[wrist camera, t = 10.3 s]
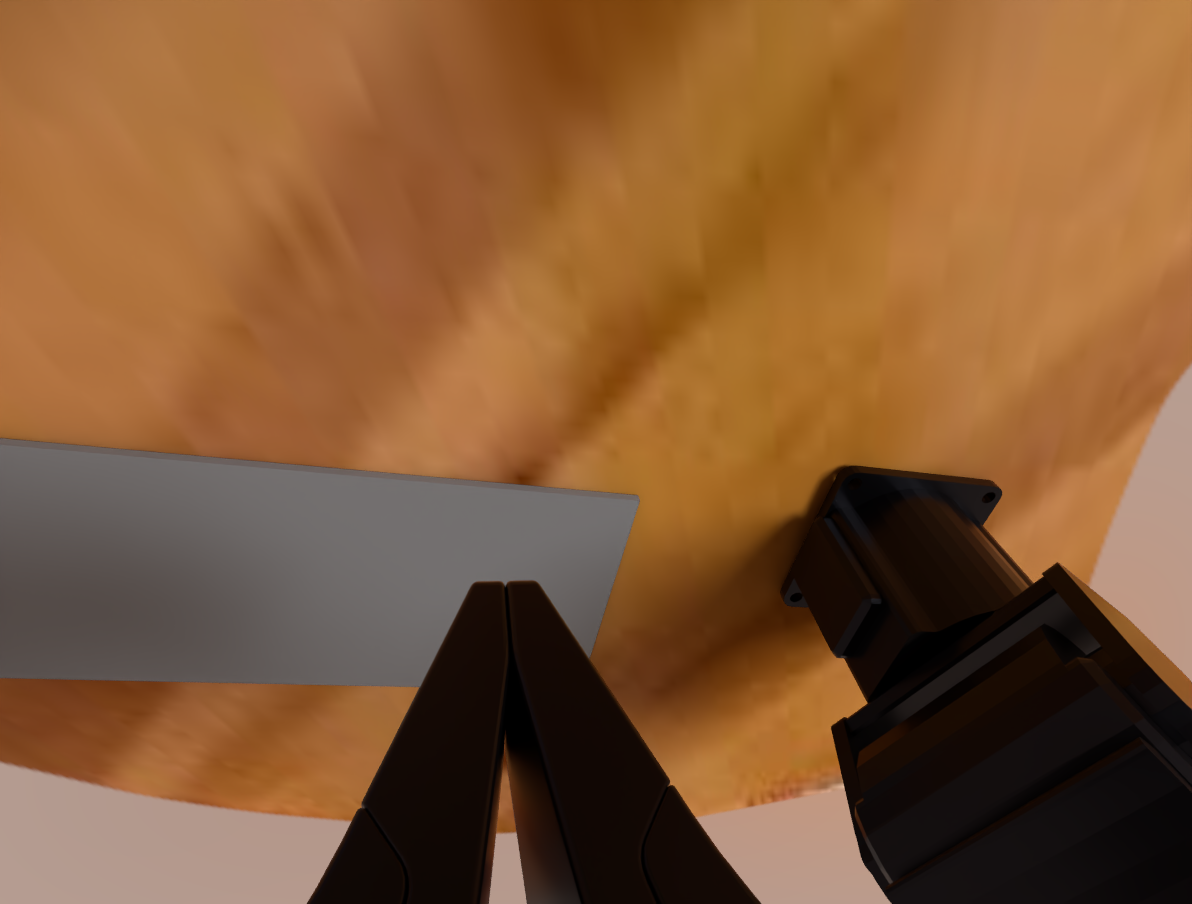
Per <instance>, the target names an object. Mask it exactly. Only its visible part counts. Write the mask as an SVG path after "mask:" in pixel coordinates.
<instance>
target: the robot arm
mask: <svg viewBox="0 0 1192 904" xmlns="http://www.w3.org/2000/svg"><path fill="white" fill-rule="evenodd" d="M853 479H855V480H854V481H853V482H851V483H849V482H850V481H851V480H853ZM1001 496H1002V490H1001V489H1000V488H999V487H998V486H997V485H996V484H995V483H994V482H993V481H990V480H983V479H974V478H965V477H956V476H946V475H937V474H928V473H919V472H909V471H900V470H891V469H881V468H872V467H863V466H849V467H847V468H845V469H843V470H842V471H840V473H839V474H838V475H837V477H836V479H835V481H834V483H833V485H832V487H831V489H830V491H829V493H828V495H827V497H826V499H825V501H824V503H823V505H822V507H821V509H820V512H819V514H818V516H817V518H816V520H815V521H814V523H813V525H812V527H811V529H810V531H809V533H808V535H807V537H806V539H805V541H804V543H803V545H802V547H801V549H800V551H799V553H798V555H797V557H796V559H795V561H794V563H793V565H792V567H791V570H790V572H789V574H788V576H787V578H786V580H785V582H784V584H783V586H782V588H781V591H780V594H781V597H782V599H783V601H784V603H785V604H786V605H787V606H792V607H809V608H810V610H811V612H812V614H813V616H814V618H815V620H816V622H817V624H818V626H819V628H820V630H821V632H822V634H823V636H824V638H825V640H826V642H827V644H828V646H829V648H830V650H831V651H832V653H833V654H834V655H835V656H836V658H844V659H845V661H846V663H847V665H848V667H849V669H850V670H851V672H852V674H853V676H854V678H855V680H856V682H857V684H858V686H859V688H860V690H861V691H862V693H863V695H864V697H865V699H866V701H867V703H868V704H866V705H865V706H864V707H862V708H861V709H860V710H858V711H857V712H855V713H854V714H853V715H851V716H850V717H848V718H846V717H843V718H842V719H841V720H839V721H838V722H836V723H835V724H834V725H832V726H831V730H832V734H833V739H834V743H835V748H836V752H837V756H838V761H839V765H840V770H841V774H842V778H843V783H844V787H845V791H846V796H847V800H848V804H849V809H850V814H851V818H852V822H853V827H854V831H855V835H856V838H857V842H858V846H859V850H860V854H861V858H862V861H863V863H864V865H865V866H866V868H867V869H868V870H869V871H870V872H871V874H872V875H873V877H874V878H875V880H876V882H877V883H878V885H879V886H880V888H881V889H882V891H883V892H884V894H885V895H886V897H887V898H888V900H889V901H890V902H891V903H892V904H1192V682H1191V681H1190V680H1189V678H1188V677H1187V676H1186V675H1185V674H1184V673H1183V672H1182V671H1181V670H1180V669H1179V668H1178V667H1177V666H1176V665H1175V664H1174V663H1173V662H1172V661H1170V659H1169V658H1167V657H1166V655H1164V654H1163V653H1162V652H1161V651H1160V650H1159V649H1158V648H1157V647H1156V646H1155V645H1154V644H1153V643H1152V642H1151V641H1150V640H1149V639H1148V638H1147V637H1146V636H1145V635H1144V634H1143V633H1142V632H1141V631H1140V630H1139V629H1138V628H1137V627H1136V626H1135V625H1134V624H1133V623H1132V622H1131V621H1130V620H1129V619H1128V618H1127V617H1125V616H1124V615H1123V614H1121V612H1119V611H1118V610H1117V609H1115V608H1114V607H1113V606H1112V605H1110V604H1109V603H1108V602H1107V601H1106V600H1104V599H1103V598H1102V597H1101V596H1099V595H1098V594H1097V593H1096V592H1094V591H1093V590H1092V589H1091V588H1090V587H1088V586H1087V585H1086V584H1085V583H1083V582H1082V581H1081V580H1080V579H1078V578H1077V577H1076V576H1075V575H1073V574H1072V573H1071V572H1070V571H1068V570H1067V569H1066V568H1065V567H1063V566H1062V565H1061V564H1060V563H1058V562H1057V563H1056V564H1054V565H1053V566H1052V567H1050V568H1049V569H1047V570H1046V571H1045V572H1043V573H1042V574H1043V576H1044V577H1042V578H1041V579H1039V580H1038V581H1037V582H1035V583H1033V582H1032V581H1031V580H1030V579H1029V577H1028V576H1027V575H1026V574H1025V573H1024V572H1023V571H1022V570H1021V568H1020V567H1019V566H1018V565H1017V564H1016V563H1015V562H1014V561H1013V559H1012V558H1011V557H1010V556H1009V555H1008V554H1007V553H1006V551H1005V550H1004V549H1003V548H1002V547H1001V546H1000V545H999V544H998V542H997V541H996V540H995V539H994V538H993V537H992V536H991V535H990V533H989V532H988V531H987V530H986V529H985V528H984V527H983V524H984V523H985V521H986V520H987V518H988V517H989V515H990V514H991V512H992V511H993V509H994V508H995V506H996V505H997V503H998V502H999V500H1000V498H1001ZM504 741H505V751H506V760H507V768H508V776H509V782H510V789H511V796H512V803H513V810H514V817H515V824H516V831H517V838H518V844H519V851H520V859H521V866H522V872H523V879H524V886H525V893H526V900H527V904H761V903H760V901H759V900H758V899H757V898H756V897H755V895H754V894H753V893H752V892H751V891H750V889H749V888H748V887H747V885H746V884H745V883H744V882H743V881H742V879H741V878H740V877H739V876H738V874H737V873H736V872H735V870H734V869H733V868H732V867H731V865H730V864H729V863H728V862H727V860H726V859H725V858H724V857H723V855H722V854H721V853H720V852H719V850H718V849H717V847H716V846H715V845H714V843H713V842H712V841H711V839H710V837H709V836H708V835H707V833H706V832H705V831H704V829H703V828H702V826H701V825H700V824H699V822H698V821H697V819H696V818H695V816H694V815H693V814H692V812H691V811H690V809H689V808H688V806H687V805H686V803H685V802H684V800H683V798H682V797H681V795H680V794H679V792H678V791H677V789H676V788H675V787H674V786H673V785H670V786H669V784H670V780H669V778H668V776H667V775H666V773H665V772H664V770H663V769H662V767H661V766H660V764H659V763H658V761H657V760H656V758H655V757H654V755H653V754H652V752H651V751H650V749H649V748H648V746H647V745H646V743H645V742H644V740H643V739H642V737H641V736H640V734H639V733H638V731H637V730H636V728H635V727H634V725H633V724H632V722H631V721H630V719H629V718H628V716H627V715H626V713H625V712H624V710H623V709H622V707H621V706H620V704H619V703H618V701H617V700H616V698H615V697H614V695H613V694H612V692H611V691H610V689H609V688H608V686H607V685H606V683H605V682H604V680H603V679H602V677H601V676H600V674H599V673H598V671H597V670H596V668H595V667H594V665H593V664H592V662H591V661H590V659H589V658H588V656H587V655H586V653H585V652H584V650H583V649H582V647H581V646H580V644H579V643H578V641H577V640H576V638H575V637H574V635H573V634H572V632H571V630H570V629H569V627H568V626H567V624H566V623H565V621H564V620H563V618H562V617H561V615H560V614H559V612H558V611H557V609H556V608H555V606H554V605H553V603H552V602H551V600H550V599H549V597H548V596H547V594H546V593H545V591H544V590H543V588H542V587H541V585H540V584H539V583H538V582H536V581H534V580H519V581H509V582H507V584H506V585H505V584H504V583H503V582H502V581H477V582H474V583H473V584H472V585H471V587H470V588H469V590H468V592H467V594H466V596H465V598H464V600H463V602H462V604H461V606H460V608H459V610H458V612H457V614H456V616H455V618H454V620H453V622H452V624H451V626H450V628H449V630H448V632H447V634H446V636H445V638H444V640H443V642H442V644H441V646H440V648H439V650H438V652H437V654H436V656H435V658H434V660H433V662H432V664H431V666H430V668H429V670H428V672H427V674H426V676H425V678H424V680H423V682H422V684H421V686H420V688H419V690H418V692H417V694H416V696H415V698H414V700H413V702H412V704H411V706H410V708H409V710H408V712H407V713H406V715H405V717H404V719H403V721H402V723H401V725H400V727H399V729H398V731H397V733H396V735H395V737H394V739H393V741H392V743H391V745H390V747H389V749H388V751H387V753H386V755H385V757H384V759H383V761H382V763H381V765H380V767H379V769H378V771H377V773H376V775H375V777H374V779H373V781H372V783H371V785H370V787H369V789H368V791H367V793H366V795H365V797H364V799H363V801H362V808H360V809H358V810H357V812H356V814H355V816H354V818H353V820H352V822H351V824H350V826H349V828H348V830H347V832H346V834H345V836H344V838H343V840H342V842H341V843H340V845H339V847H338V849H337V851H336V853H335V854H334V856H333V858H332V860H331V862H330V864H329V866H328V867H327V869H326V871H325V873H324V875H323V877H322V878H321V880H320V882H319V884H318V886H317V888H316V889H315V891H314V893H313V894H312V896H311V898H310V899H309V901H308V902H307V904H489V896H490V887H491V877H492V867H493V857H494V848H495V838H496V828H497V819H498V809H499V799H500V789H501V779H502V770H503V756H504Z"/></svg>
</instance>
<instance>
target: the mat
mask: <svg viewBox="0 0 1192 904" xmlns="http://www.w3.org/2000/svg"><path fill="white" fill-rule="evenodd" d="M639 502H640V500H639V497H638V495H628V494H617V493H606V492H595V491H584V490H573V489H561V488H550V487H539V486H528V485H517V484H505V483H494V482H483V481H472V480H461V479H450V478H438V477H427V476H416V475H405V474H394V473H383V472H371V471H360V470H349V469H338V468H327V467H316V466H304V465H293V464H282V463H271V462H260V461H249V460H237V459H226V458H215V457H204V456H193V455H182V454H170V453H159V452H148V451H137V450H126V449H115V448H103V447H92V446H81V445H70V444H59V443H48V442H36V441H25V440H14V439H3V438H0V678H23V679H69V680H116V681H163V682H209V683H256V684H302V685H349V686H395V687H420V686H421V684H422V682H423V680H424V678H425V676H426V674H427V672H428V670H429V668H430V666H431V664H432V662H433V660H434V658H435V656H436V654H437V652H438V650H439V648H440V646H441V644H442V642H443V640H444V638H445V636H446V634H447V632H448V630H449V628H450V626H451V624H452V622H453V620H454V618H455V616H456V614H457V612H458V610H459V608H460V606H461V604H462V602H463V600H464V598H465V596H466V594H467V592H468V590H469V588H470V587H471V585H472V584H473V583H474V582H477V581H502V582H503V583H504V584H505V585H506V584H507V582H509V581H519V580H534V581H536V582H538V583H539V584H540V585H541V587H542V588H543V590H544V591H545V593H546V594H547V596H548V597H549V599H550V600H551V602H552V603H553V605H554V606H555V608H556V609H557V611H558V612H559V614H560V615H561V617H562V618H563V620H564V621H565V623H566V624H567V626H568V627H569V629H570V630H571V632H572V634H573V635H574V637H575V638H576V640H577V641H578V643H579V644H580V646H581V647H582V649H583V650H584V652H585V653H586V655H587V656H588V658H589V659H590V656H591V653H592V649H593V646H594V643H595V640H596V637H597V634H598V631H599V627H600V624H601V621H602V618H603V615H604V612H605V609H606V605H607V602H608V599H609V596H610V593H611V590H612V587H613V583H614V580H615V577H616V574H617V571H618V568H619V565H620V561H621V558H622V555H623V552H624V549H625V546H626V543H627V539H628V536H629V533H630V530H631V527H632V524H633V521H634V517H635V514H636V511H637V508H638V505H639Z"/></svg>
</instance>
